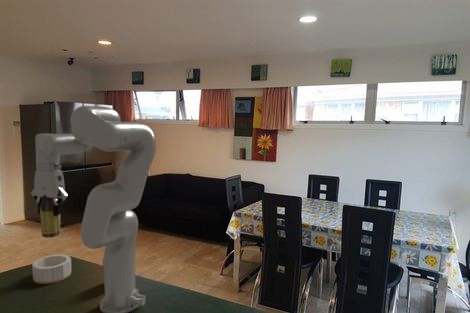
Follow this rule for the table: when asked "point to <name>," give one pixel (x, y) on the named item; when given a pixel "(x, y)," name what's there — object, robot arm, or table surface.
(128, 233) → the robot arm
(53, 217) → the sauce bottle
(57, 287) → the table surface
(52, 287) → the table surface
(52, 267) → the bottle holder
